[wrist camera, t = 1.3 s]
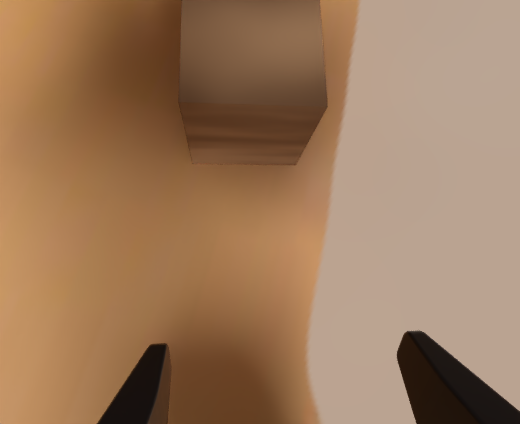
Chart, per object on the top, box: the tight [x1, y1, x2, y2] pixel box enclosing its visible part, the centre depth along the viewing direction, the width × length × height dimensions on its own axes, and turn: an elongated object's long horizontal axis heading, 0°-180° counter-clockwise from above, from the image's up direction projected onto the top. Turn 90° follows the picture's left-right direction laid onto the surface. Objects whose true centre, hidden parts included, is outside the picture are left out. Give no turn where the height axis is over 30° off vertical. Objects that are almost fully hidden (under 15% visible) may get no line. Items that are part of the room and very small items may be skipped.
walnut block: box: [179, 0, 328, 165], centre depth 22 cm, size 14×7×8 cm, turn 1°
